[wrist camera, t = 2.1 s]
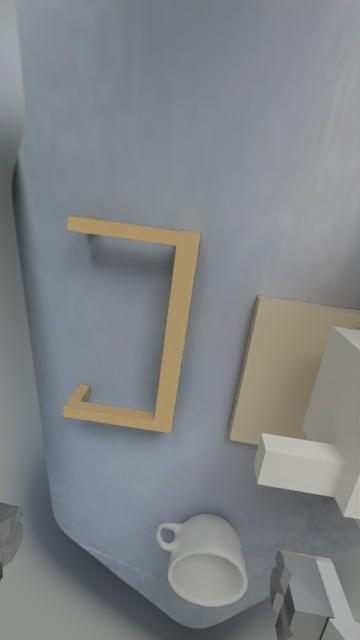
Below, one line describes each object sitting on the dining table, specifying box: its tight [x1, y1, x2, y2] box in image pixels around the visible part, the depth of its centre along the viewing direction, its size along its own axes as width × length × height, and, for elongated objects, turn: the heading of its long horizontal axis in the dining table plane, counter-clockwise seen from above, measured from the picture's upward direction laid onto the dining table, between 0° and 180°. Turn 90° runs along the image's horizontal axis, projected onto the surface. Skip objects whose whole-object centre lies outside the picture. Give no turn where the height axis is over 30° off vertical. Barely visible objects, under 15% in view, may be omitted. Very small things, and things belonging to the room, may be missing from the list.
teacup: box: [156, 514, 248, 607], centre depth 33 cm, size 10×8×5 cm
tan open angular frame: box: [63, 216, 201, 433], centre depth 27 cm, size 10×17×4 cm, turn 172°
